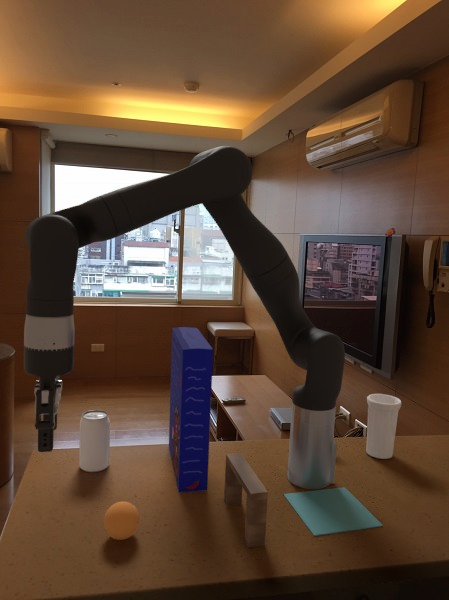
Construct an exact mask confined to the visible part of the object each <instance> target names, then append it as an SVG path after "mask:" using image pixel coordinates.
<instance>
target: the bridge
mask: <svg viewBox="0 0 449 600" xmlns="http://www.w3.org/2000/svg"><path fill="white" fill-rule="evenodd" d="M224 472H225V474H224V478H225V479H224V495H223V501H224V503H225V505H226V506H227V507H229V506H237V505H239V506H240V505H242V503H243V501H242V500H243V490H244V492H245V494H246V507H245V508H246V509H245V522H244V523H245V525H244V526H245V527H244V542H245V544H246V546H247V548H255V547H261V546H266V530H267V529H266V528H267V516H268V515H267V514H268V499H269V498H268V495H269V492H268V489H266V487H265V485H264V484H263V483H262V482H261V480H260V479H259V476H258V475H257V474H256V473H255V471H254V469H253V468H252V467H251V465H250V464H249V462H248V461H247V460H246V459H245V457H244V455H243V453H242V452H235V453H226V454H225V471H224Z"/></svg>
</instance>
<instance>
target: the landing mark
mask: <svg viewBox="0 0 449 600" xmlns="http://www.w3.org/2000/svg"><path fill="white" fill-rule="evenodd" d="M283 496H284V498H285V500H287V502H288V503H289V505H290V506H291V507H292V509H293V510H294V511H295V513H296V514H297V515H298V516H299V518H300V519H301V520H302V522H303V524H304V525H305V526H306V528H307V529H308V530H309V531H310V533H311V534H312V535H313V537H318V536H325V535H332V534H339V533H346V532H353V531H361V530H368V529H374V528H381V527H384V525H383V524H382V523H381V522H380V521H379V520H378V519H377V518H376V517H375V515H373V514H372V513H371V512H370V511H369V510H368V509H367V508H366V507H365V506H364V505H363V504H362V503H361V502H360V501H359V500H358V499H357V498H356V497H355V496H354V495H353V494H352V493H351V492H350V491H349V490H348V489H347V488H346V487H344V486H343V487H336V488H326V489H325V488H323V489H315V490H309V491H301V492H291V493H283Z"/></svg>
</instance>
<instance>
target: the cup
mask: <svg viewBox="0 0 449 600" xmlns="http://www.w3.org/2000/svg"><path fill="white" fill-rule="evenodd" d="M366 402H367V405H368V406H367V429H366V448H365V449H366V450H365V451H366V454H368V456H370V457H374V458H376V459H381V460H382V459H383V460H386V459H391V458H392V457H393V455H394V454H393V453H394V447H395V446H394V445H395V439H396V430H397V423H398V416H399V410H400V409H401V407H402V401H401V399H400V398H398V397H396V396H395V395H394V396H393V395H390V394H386V393H385V394H384V393H372V394H369V395H368V396H366Z"/></svg>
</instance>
